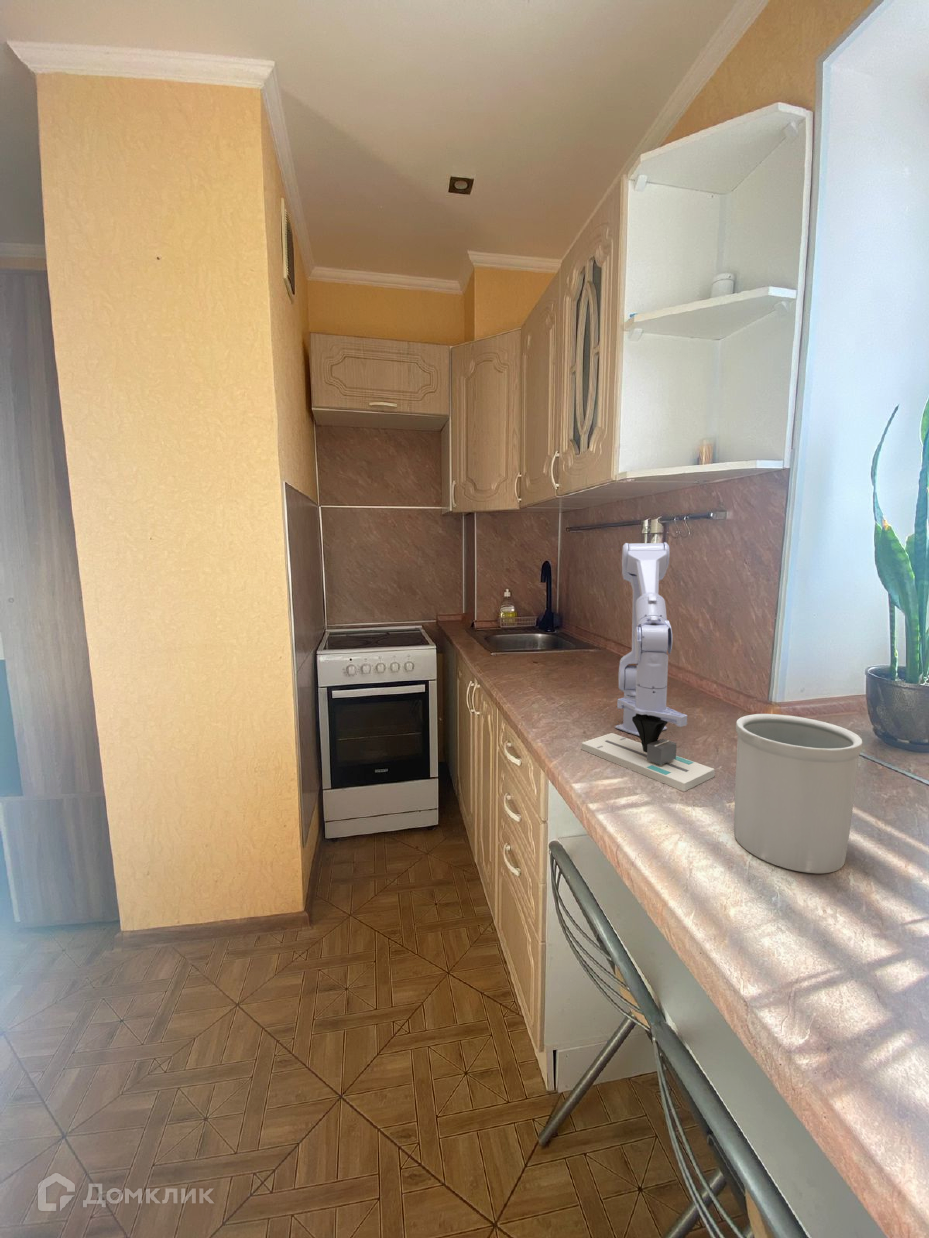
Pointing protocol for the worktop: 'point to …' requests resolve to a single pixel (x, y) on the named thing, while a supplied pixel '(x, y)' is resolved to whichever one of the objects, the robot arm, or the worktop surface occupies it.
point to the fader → (661, 751)
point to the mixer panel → (648, 762)
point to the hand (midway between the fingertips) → (648, 751)
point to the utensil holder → (795, 790)
